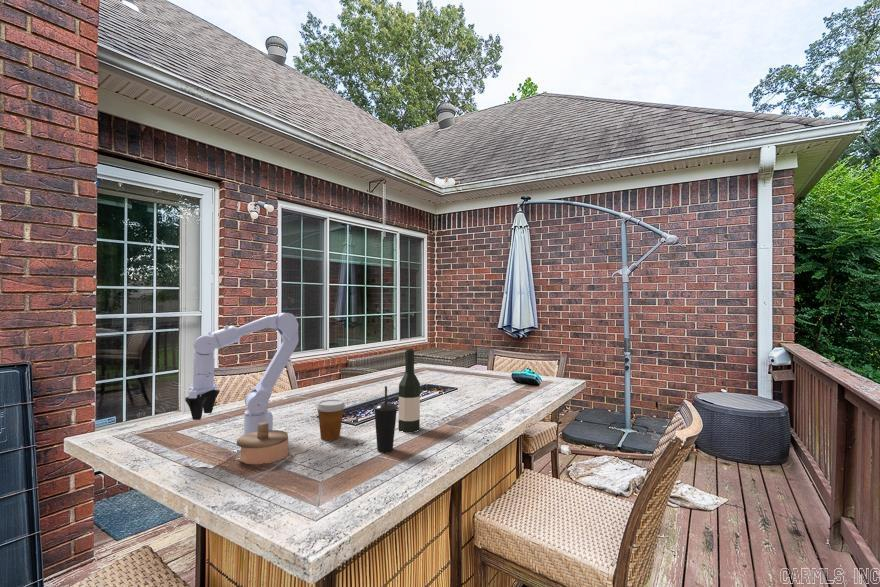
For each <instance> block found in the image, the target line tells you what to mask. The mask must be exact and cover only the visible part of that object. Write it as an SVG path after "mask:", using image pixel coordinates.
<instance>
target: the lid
mask: <svg viewBox="0 0 880 587" xmlns="http://www.w3.org/2000/svg"><path fill="white" fill-rule="evenodd" d="M268 429H269V423H267V422H263V423H259V424H258V431H257V432H252V433H248V434H245V435H244V434H243V435H241V436H239V437H238V438H237V439H236V446H238V447H240V448H241V447H243V448H263V447H269V446H274V445H277V444H280V443H282V442H284V441H286V440H287V438H288V439H289V434H288V432H286V431H284V430H277V429H276V430H274V429H273V430H268Z"/></svg>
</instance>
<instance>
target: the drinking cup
mask: <svg viewBox="0 0 880 587" xmlns="http://www.w3.org/2000/svg"><path fill="white" fill-rule="evenodd" d="M398 409H399V405H397V404H395V403H392V402H389V401H388V386H387V385H385V386H384V402H380V403H377V404H375V405H374V406H373V410H374V423H375V435H376V436H375V437H376V450H377V452H378V451H379V452H378V453H381V452H384V453H383V454H385V453H386V452H388V453H390V452H391V453H392V451H393V450H394V442H395V433H396V432H395V431H396V430H395V429H396V421H397V414H398V413H397V410H398Z"/></svg>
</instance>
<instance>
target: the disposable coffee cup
mask: <svg viewBox="0 0 880 587" xmlns="http://www.w3.org/2000/svg"><path fill="white" fill-rule="evenodd" d="M345 406H346V404H345V402H344V400H341V399H325V400H321V401H318V402H317V405H316V409H317V414H318V415H317V416H318V423H319V424H318V425H319V431H320V432H319V433H320V435H319V436H320V439H321V440H322V441H333V440H337V439H339V438H340V437H341V429H342V423H343V417H344V416H343V415H344V414H343V413H344V409H345Z"/></svg>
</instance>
